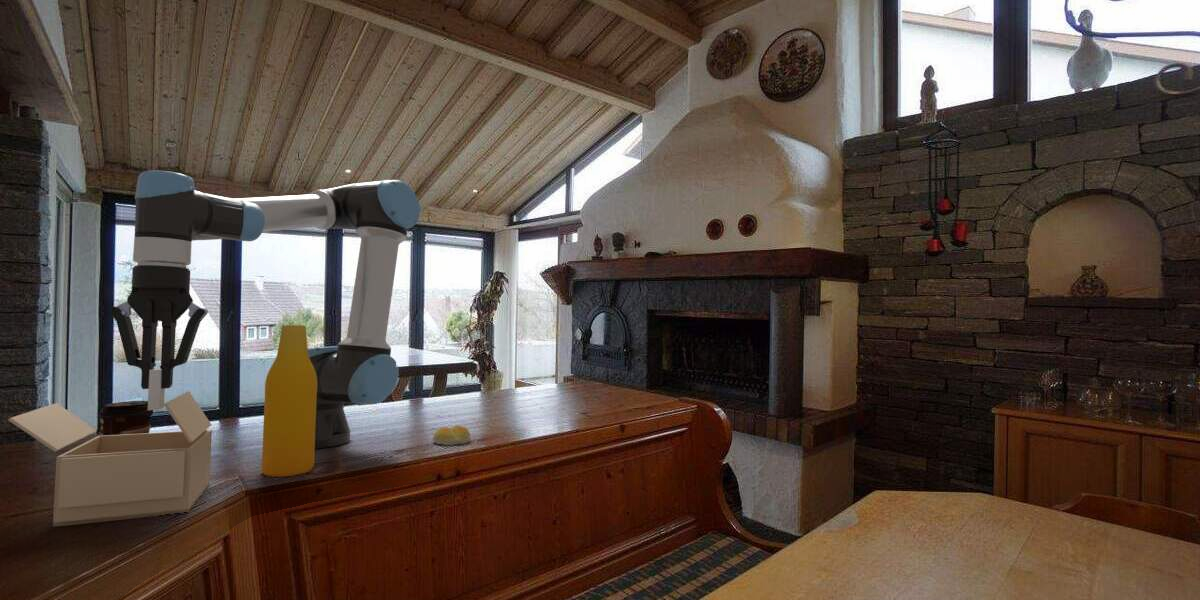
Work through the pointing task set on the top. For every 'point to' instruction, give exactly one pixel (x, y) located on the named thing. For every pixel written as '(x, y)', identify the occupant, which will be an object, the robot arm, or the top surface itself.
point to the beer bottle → (290, 407)
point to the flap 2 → (188, 415)
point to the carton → (130, 477)
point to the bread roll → (452, 436)
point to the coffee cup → (125, 418)
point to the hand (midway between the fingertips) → (155, 408)
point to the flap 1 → (53, 426)
